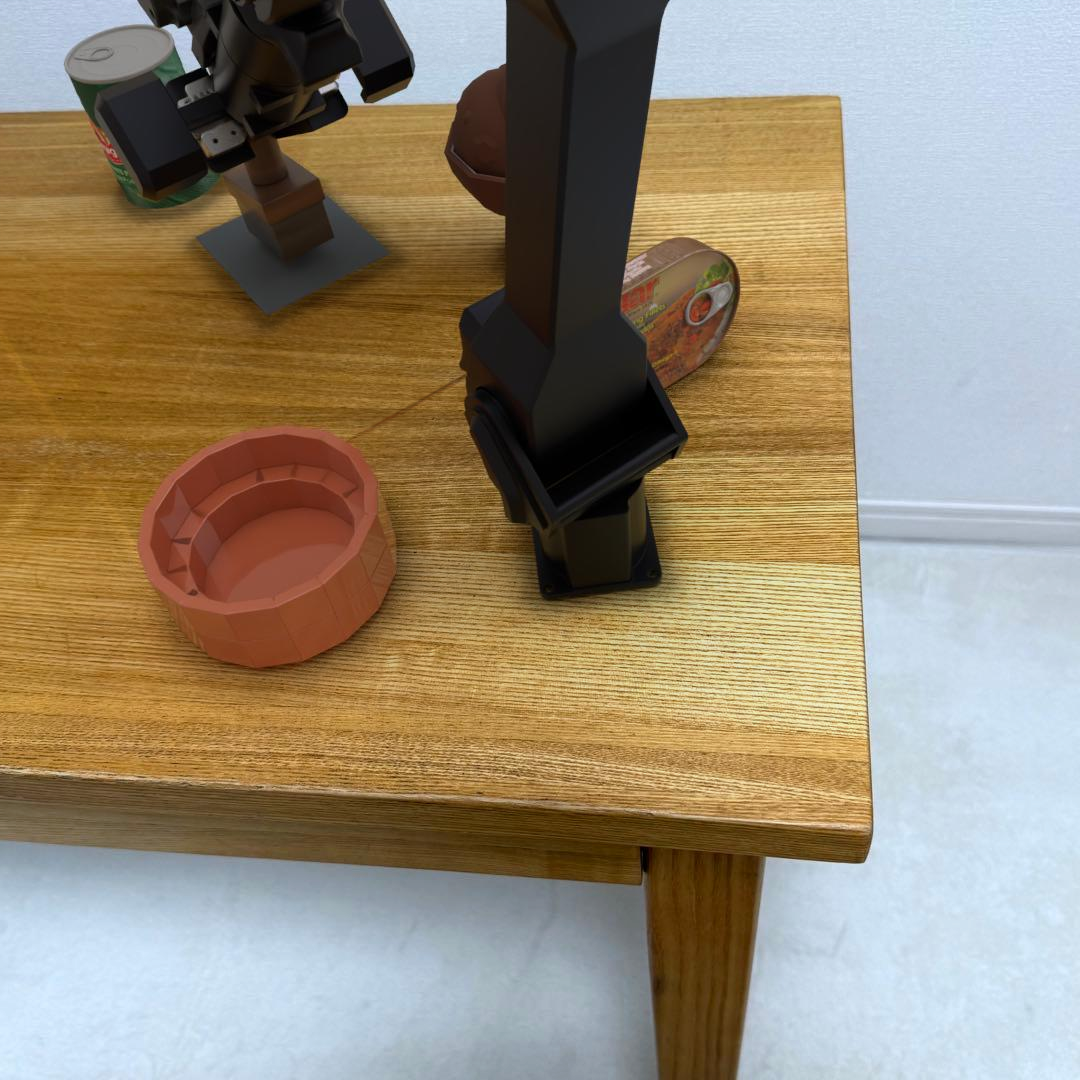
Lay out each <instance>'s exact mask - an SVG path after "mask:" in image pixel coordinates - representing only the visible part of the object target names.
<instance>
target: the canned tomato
mask: <svg viewBox="0 0 1080 1080" xmlns="http://www.w3.org/2000/svg"><path fill="white" fill-rule="evenodd" d="M175 44H176V43H175V39H174V37H173V35H172V33H170V31H168V29H166V28H164V27H162V28H157V27H155V25H154V24H148V23H134V24H126V25H125V24H124V25H120V26H114V27H111V28H108V29H104V30H101V31H98V32H96V33H93V34H92V35H90V36H87V37H86V38H84V39H83V40H81V41H79V42H78V43H77V44H76V45H74V46H73V47H72V48H71V49H70V50H69V52H67V53H66V56H65V58H64V60H63V61H64V62H63V67H64V71H65V73H66V74H67V75H68V77H69V79H70V81H71V84H72V86H73V88H74V90H75V93H76V95H77V97H78V98H79V101H80V104H81V106H82V108H83V110H84V112H85V114H86V116H87V118H88V120H89V123H90V125H91V127H92V129H93V131H94V134H95V136H96V137H97V139H98V142H99V145H100V146H101V149H102V150H103V153H104V155H105V157H106V159H107V162H108V164H109V165H110V167H111V170H112V172H113V174H114V176H115V178H116V181H117V184H118V185H119V187H120V189H121V191H122V193H123V195H124V197H125V199H126V200H127V201H128V202H129V203H130V204H132V205H133V206H135V207H138V208H143V209H148V210H149V209H150V210H151V209H154V210H160V209H168V208H174V207H178V206H182V205H185V204H187V203H190V202H191V201H194V200H196V199H198V198H200V197H201V196H203V195H205V194H206V193H207V192H209V191H210V190H211V189H212V188H213V187H214V186H215V185H216V184H217V182H218V180H219V179H220V177H221V175H222V173H219V174H217V173H213V172H211V171H210V170H209V169H208V174H207V175H206V176H205V177H204V178H202V179H201V180H200V181H198V182H197V183H196V184H194V185H192V186H190V187H188V188H185V189H183V190H181V191H179V192H177V193H174V194H172V195H170V196H168V197H166V198H163V199H161V200H159V201H157V202H156V201H153V200H150V199H147V198H144V197H142V195H141V193H140V192H139V190H138V188H137V187H136V185H135V183H134V182H133V180H132V178H131V177H130V175H129V173H128V172H127V170H126V168H125V167H124V165H123V163H122V162H121V160H120V158H119V157H118V155H117V153H116V152H115V150H114V148H113V146H112V145H111V143H110V141H109V140H108V138H107V136H106V135H105V133H104V131H103V130H102V128H101V126H100V125H99V123H98V121H97V120H96V118H95V110H94V105H95V101H96V97H97V93H98V92H100V91H102V90H105V89H107V88H110V87H112V86H114V85H117V84H119V83H122V82H124V81H127V80H129V79H131V78H134V77H136V76H139V75H141V74H143V73H146V72H148V71H151V70H152V71H153V72H154V73H155V74H156V75H157V76H158V77H159V78H160V79H161V81H162V82H163V84H164V86H166V84H167V82H168V81H170V80H172V79H174V78H177V77H179V76H181V75H184V74H186V73H187V72H186V70H185V67H184V65H183V62H182V59H181V57H180V54H179V51H178V50H177V47H176V45H175Z"/></svg>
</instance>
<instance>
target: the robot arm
mask: <svg viewBox="0 0 1080 1080" xmlns="http://www.w3.org/2000/svg"><path fill="white" fill-rule="evenodd" d="M136 1H137V3H138V5H139V6H140V7H141V9H142V10H143V12H144V13H145V14H146V15H147V17H148V19H149V20H150V22H151V23H152V25H155V27H157V28H164V27H167V26H169V25H174V26H175V27H176V28H177V29H178V30H180V29H182V28H184V27H186V28H187V29H188V31H189V33H190V35H191V36H192V37H191V47H190V50H191V52H192V54H193V56H194V58H195V59H196V61H197V63H198V64H199V66H200V67H198V68H196V69H194V70H191V71H189V72H186V74H184V75H181V76H179V77H177V78H174V79H172V80H170V81H168V82H167V84H166V86H164V84H163V82H162V81H161V79H160V78H159V77H158V76H157V75H156V74H155V73H154V72H153V71H152V70H151V71H148V72H146V73H143V74H141V75H139V76H136V77H134V78H131V79H129V80H127V81H124V82H122V83H119V84H117V85H114V86H112V87H110V88H107V89H105V90H102V91H100V92H98V93H97V97H96V101H95V105H94V110H95V118H96V120H97V121H98V123H99V125H100V126H101V128H102V130H103V131H104V133H105V135H106V136H107V138H108V140H109V141H110V143H111V145H112V146H113V148H114V150H115V152H116V153H117V155H118V157H119V158H120V160H121V162H122V163H123V165H124V167H125V168H126V170H127V172H128V173H129V175H130V177H131V178H132V180H133V182H134V183H135V185H136V187H137V188H138V190H139V192H140V193H141V195H142V197H144V198H147V199H150V200H153V201H156V202H157V201H159V200H161V199H163V198H166V197H168V196H170V195H172V194H174V193H177V192H179V191H181V190H183V189H185V188H188V187H190V186H192V185H194V184H196V183H197V182H198V181H200V180H201V179H202V178H204V177H205V176H206V175H207V174H208V169H209V170H210V171H211V172H213V173H217V174H219V173H221V174H223V173H225V172H227V171H229V170H231V169H234V168H236V167H238V166H240V165H242V164H244V163H245V162H247V161H250V160H252V159H254V158H256V155H255V153H254V151H253V150H252V148H251V146H250V144H249V143H248V141H247V139H246V130H247V132H248V134H249V135H250V137H251V139H252V141H253V142H254V141H256V140H259V139H261V138H263V137H265V136H268V135H270V134H272V133H274V132H275V135H276V137H277V140H280V139H284V138H291V137H294V136H299V135H305V134H309V133H313V132H315V131H318V130H320V129H323V128H325V127H326V126H329V125H331V124H333V123H335V122H338V121H340V120H342V119H344V118H346V117H347V115H348V113H349V104H348V103H347V101H346V99H345V97H344V95H343V93H342V92H341V89H339V88H340V84H339V83H338V81H337V80H338V79H340V77H341V74H342V73H344V72H347V71H349V70H352V72H353V74H354V76H355V77H356V80H357V82H358V83H359V85H360V87H361V88H362V89H361V91H360V93H359V96H360V98H361V100H362V101H363V103H364V104H375V103H378V102H380V101H382V100H384V99H386V98H389V97H390V96H392V95H395V94H397V93H399V92H401V91H404V90H406V89H407V88H409V87H408V86H409V85H410V83H411V82H412V79H413V78H414V76H415V75H414V74H415V72H416V71H415V70H416V61H415V56H414V52H413V51H412V48H411V47H410V45H409V43H408V41H407V39H406V38H405V36H404V34H403V32H402V30H401V28H400V26H399V25H398V23H397V21H396V19H395V17H394V15H393V13H392V12H391V10H390V8H389V7H388V5H387V3H386V1H385V0H136ZM670 1H671V0H505V63H506V159H505V216H504V219H505V220H504V286H503V287H501V288H499V289H497V290H496V291H494V292H492V293H491V294H488V295H486V296H485V297H483V298H481V299H478V300H477V301H476V302H474V303H472V304H470V305H467V306H466V307H464V308H463V310H462V312H461V315H460V319H459V321H458V322H459V323H458V329H459V335H460V341H461V350H462V351H461V359H460V360H459V362H458V366H459V369H460V370H462V371H463V372H465V373H466V375H465V390H466V395H465V397H464V399H463V400H464V401H463V404H464V405H463V406H464V411H463V414H464V417H465V419H466V422H467V424H468V427H469V429H468V430H469V431H468V433H469V435H470V437H471V439H472V441H473V443H474V444H475V447H476V449H477V451H478V452H479V456H480V458H481V461H482V464H483V466H484V468H485V470H486V474H487V476H488V477H489V480H490V481H491V482H492V484H493V486H494V487H495V488H496V489H497V491H498V492H499V495H500V498H501V501H502V506H503V512H504V516H505V517H506V519H508V520H509V522H510V523H512V524H518V525H527V526H528V527H529V526H531V532H532V540H533V549H534V556H535V564H536V572H537V580H538V588H539V595H540V597H541V598H542V599H543V600H545V601H554V600H561V599H568V598H569V599H570V598H576V597H583V596H589V595H590V596H591V595H597V594H604V593H610V592H618V591H619V592H620V591H626V590H632V589H639V588H646V587H647V588H648V587H652V586H653V587H654V586H657V585H659V584H660V583H662V581H663V570H662V566H661V562H660V561H661V560H660V556H659V552H658V547H657V542H656V538H655V534H654V529H653V524H652V520H651V515H650V510H649V507H648V506H649V505H648V501H647V497H646V483H645V482H646V481H645V480H646V479H645V477H646V475H647V474H650V473H651V472H652V471H653V470H655V469H657V468H658V467H660V466H662V465H664V464H665V463H666V462H668V461H670V460H671V461H673V460H674V459H676V458H677V457H679V456H681V455H682V453H683V451H684V448H685V447H686V445H687V443H688V440H689V438H690V437H689V432H688V431H687V429H686V427H685V425H684V424H683V421H682V420H681V418H680V416H679V413H677V410H676V408H675V407H674V405H673V403H672V401H671V399H670V397H669V396H668V393H667V391H666V389H664V388H663V386H662V384H661V382H660V380H659V379H658V377H657V375H656V373H655V371H654V369H653V367H652V365H651V364H650V362H649V360H648V358H647V339H646V337H645V336H644V335H643V334H642V333H641V332H640V331H639V329H638V328H637V327H636V326H635V325H634V324H633V323H632V322H631V321H630V319H629V318H628V317H627V316H626V315H625V314H624V313H623V312H622V310H621V295H622V288H623V281H624V274H625V267H626V262H627V261H628V260H627V259H628V255H629V254H628V253H629V248H630V247H629V245H630V240H631V232H632V226H633V220H634V219H633V218H634V212H635V207H636V199H637V190H638V186H639V177H640V172H641V171H640V170H641V165H642V158H643V157H642V156H643V152H644V144H645V137H646V131H647V123H648V116H649V109H650V103H651V95H652V89H653V81H654V76H655V69H656V61H657V54H658V49H659V41H660V36H661V35H660V34H661V27H662V21H663V19H664V18H663V17H664V15H665V11H666V8H667V6H668V4H669V2H670ZM208 67H211V69H212V71H213V74H211V75H210V72H209V70H208ZM650 575H655V576H653V577H652V576H650ZM549 589H550V590H551V591H547V590H549Z"/></svg>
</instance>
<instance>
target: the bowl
mask: <svg viewBox="0 0 1080 1080" xmlns="http://www.w3.org/2000/svg"><path fill="white" fill-rule="evenodd" d="M395 533H396V532H395V530H394V527H393V524H392V520H391V518H390V515H389V511H388V508H387V506H386V502H385V498H384V496H383V492H382V489H381V487H380V484H379V480H378V478H377V476H376V474H375V473H374V471H373V470H372V468H371V466H370V465H369V463H368V461H367V460H366V457H364V455H363V453H362V451H361V450H359V448H357V447H355V446H354V445H352V444H350V443H349V442H347V441H345V440H344V439H343V438H340V437H338V436H337V435H335V434H334V433H332V432H330V431H328V430H324V429H318V428H317V429H316V428H311V427H304V426H299V425H291V424H283V425H276V426H269V427H263V428H255V429H249V430H243V431H240V432H237V433H236V434H234V435H231V436H229V437H227V438H223V439H222V440H219V441H217V442H214V443H212V444H210V445H208V446H206V447H202V448H201V449H200V450H198V451H197V452H196V453H194V454H193V455H192V456H191V457H190V458H188V459H187V460H185V462H183V463H182V464H180V465H179V466H178V467H177V468H176V469H174V470H173V471H172V472H170V474H168V475H167V476H166V477H164V479H163V480H162V482H161V484H159V487H158V488H157V489H156V491H155V492H154V494H153V496H152V498H151V499H150V500H149V502H148V503H147V505H146V506H145V508H144V509H143V511H142V516H141V521H140V528H139V532H138V537H137V538H138V539H137V544H136V551H137V555H138V557H139V559H140V562H141V565H142V567H143V569H144V572H145V575H146V577H147V580H148V583H149V584H150V585H151V588H152V589H153V590H154V591H155V593H156V595H157V597H158V598H159V599H160V601H161V602H162V604H163V605H164V607H165V609H166V610H167V612H168V613H169V615H170V616H171V618H172V619H173V621H174V623H175V624H176V626H177V627H178V629H179V630H180V632H181V633H182V635H183V636H184V637H185V638H186V639H188V640H189V641H190V642H192V643H193V644H194V645H195V646H197V647H198V648H199V649H200V650H202V651H203V652H204V653H205V654H207V656H209V657H211V658H213V659H214V660H217V661H222V662H227V663H232V664H235V665H236V664H237V665H241V666H245V667H250V668H254V669H255V668H256V669H258V668H265V667H271V666H272V667H273V666H278V665H280V666H281V665H285V664H293V663H300V662H304V661H306V660H309V659H311V658H313V657H314V656H317V655H319V654H321V653H323V652H324V651H327V650H329V649H331V648H333V647H335V646H338V645H340V644H341V643H344V642H345V641H347V640H348V639H350V637H352V636H353V634H354V633H355V632H357V631H358V630H359V629H360V628H361V627H362V626H363V625H364V624H365V623H366V622H367V621H368V620H369V619H370V618H371V617H372V616H373V615H374V614H375V613H376V612H377V611H378V610H379V609H380V608H381V606H382V604H383V601H384V599H385V597H386V595H387V593H388V590H389V589H390V586H391V584H392V582H393V580H394V578H395V576H396V573H397V568H398V567H397V536H396V534H395Z"/></svg>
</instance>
